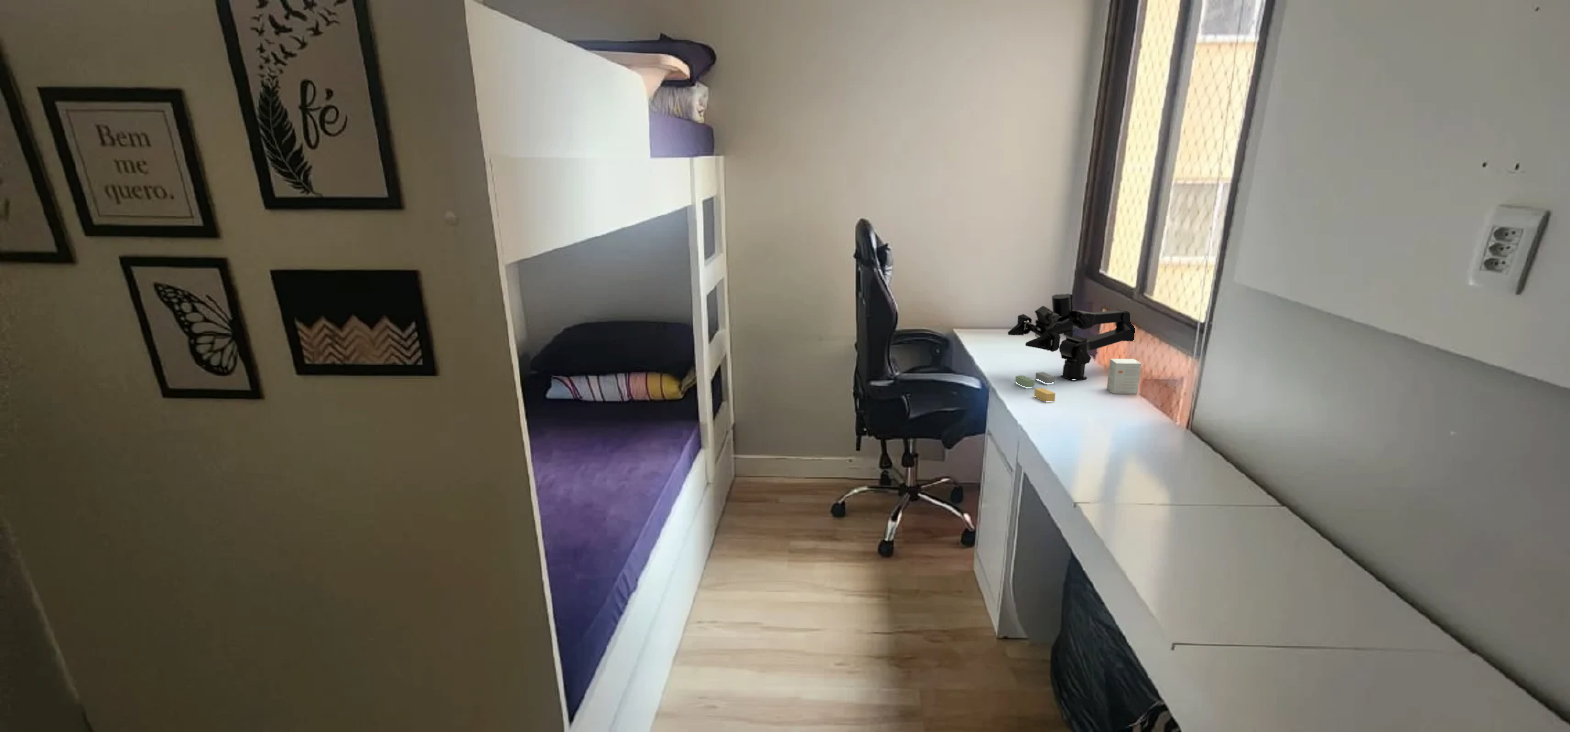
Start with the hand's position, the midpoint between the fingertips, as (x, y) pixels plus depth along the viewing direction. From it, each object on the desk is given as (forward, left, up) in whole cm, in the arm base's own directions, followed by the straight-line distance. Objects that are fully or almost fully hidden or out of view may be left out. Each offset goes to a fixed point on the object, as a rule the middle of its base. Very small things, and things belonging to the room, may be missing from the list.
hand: (1016, 338), depth 226 cm
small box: (-29, +18, -17) cm, 38 cm away
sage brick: (-3, +2, -17) cm, 17 cm away
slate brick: (-12, +1, -17) cm, 21 cm away
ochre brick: (0, +16, -17) cm, 23 cm away
